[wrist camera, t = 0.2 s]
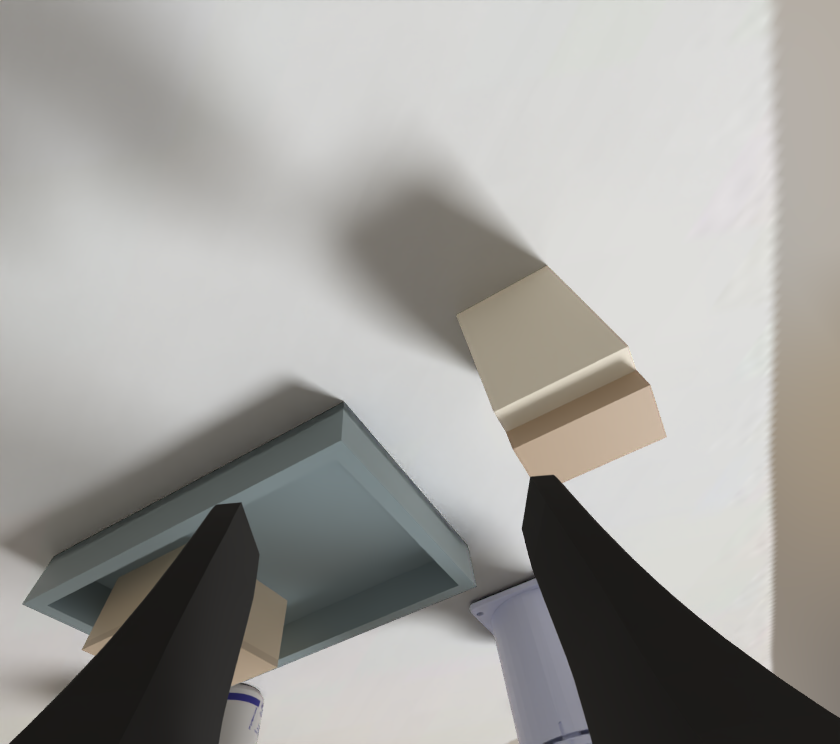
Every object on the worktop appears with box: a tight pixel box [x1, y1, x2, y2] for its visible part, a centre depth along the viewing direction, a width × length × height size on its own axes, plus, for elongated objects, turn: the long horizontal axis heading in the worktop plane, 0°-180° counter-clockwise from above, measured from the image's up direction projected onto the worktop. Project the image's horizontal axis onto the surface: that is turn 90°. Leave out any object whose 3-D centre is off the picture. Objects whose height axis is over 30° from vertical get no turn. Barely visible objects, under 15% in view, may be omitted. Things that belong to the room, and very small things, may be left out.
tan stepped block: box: [82, 544, 287, 686], centre depth 26 cm, size 8×6×4 cm
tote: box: [23, 402, 477, 687], centre depth 26 cm, size 14×20×3 cm
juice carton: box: [456, 266, 667, 483], centre depth 17 cm, size 4×4×8 cm
